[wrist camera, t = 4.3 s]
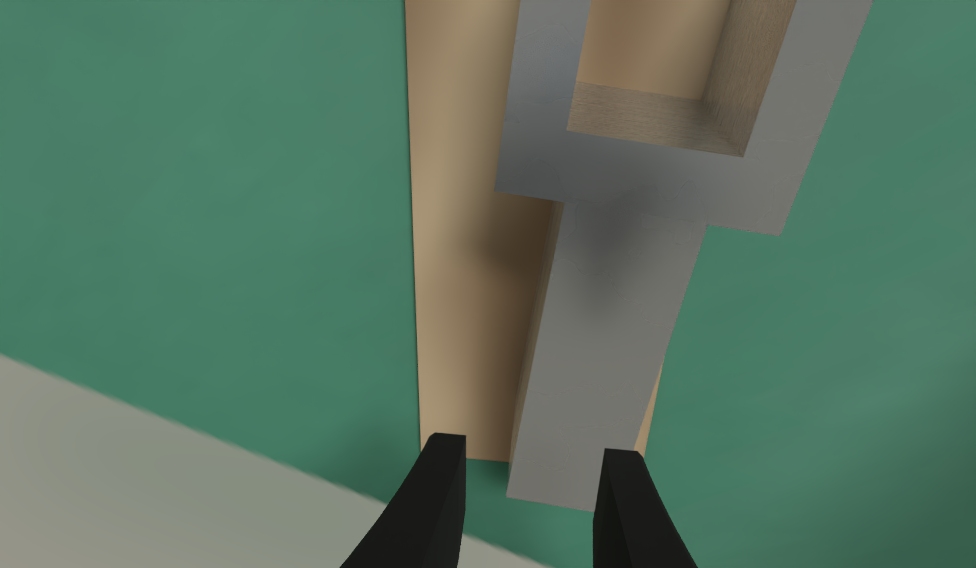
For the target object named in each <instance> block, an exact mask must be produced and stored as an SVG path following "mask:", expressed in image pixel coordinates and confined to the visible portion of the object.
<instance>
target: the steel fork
mask: <svg viewBox="0 0 976 568" xmlns="http://www.w3.org/2000/svg"><path fill="white" fill-rule="evenodd" d="M872 3H873V0H731V1H730V4H729V8H728V11H727V14H726V18H725V21H724V25H723V28H722V31H721V35H720V38H719V42H718V45H717V49H716V52H715V55H714V59H713V62H712V66H711V69H710V72H709V76H708V79H707V83H706V86H705V90H704V93H703V96H702V100H696V99H690V98H683V97H677V96H670V95H663V94H657V93H650V92H644V91H637V90H631V89H624V88H617V87H611V86H604V85H598V84H591V83H584V82H578V81H576V77H577V72H578V67H579V62H580V56H581V51H582V46H583V41H584V35H585V30H586V25H587V20H588V14H589V9H590V4H591V0H521V1H520V8H519V15H518V22H517V30H516V37H515V44H514V51H513V59H512V66H511V73H510V80H509V87H508V95H507V102H506V109H505V116H504V123H503V131H502V138H501V145H500V152H499V159H498V167H497V174H496V181H495V188H494V191H496V192H502V193H509V194H515V195H522V196H528V197H534V198H541V199H547V200H553V203H552V208H551V214H550V219H549V224H548V229H547V235H546V240H545V245H544V250H543V256H542V261H541V266H540V271H539V277H538V282H537V287H536V292H535V298H534V303H533V308H532V313H531V319H530V324H529V329H528V335H527V340H526V345H525V350H524V356H523V361H522V366H521V371H520V377H519V382H518V387H517V392H516V401H515V411H514V421H513V430H512V440H511V450H510V460H509V469H508V479H507V489H506V497H509V498H514V499H520V500H526V501H532V502H538V503H544V504H550V505H556V506H561V507H567V508H573V509H579V510H585V511H591V512H595V506H596V500H597V493H598V487H599V481H600V474H601V468H602V462H603V455H604V449H605V448H611V449H622V450H632V451H633V450H634V447H635V444H636V441H637V438H638V435H639V432H640V429H641V425H642V422H643V419H644V416H645V413H646V410H647V407H648V404H649V401H650V398H651V395H652V392H653V389H654V386H655V383H656V380H657V377H658V374H659V371H660V368H661V365H662V362H663V359H664V356H665V353H666V350H667V347H668V344H669V341H670V338H671V335H672V332H673V329H674V326H675V323H676V319H677V316H678V313H679V310H680V307H681V304H682V301H683V298H684V295H685V292H686V289H687V286H688V283H689V280H690V277H691V274H692V271H693V268H694V265H695V262H696V259H697V256H698V253H699V250H700V247H701V244H702V241H703V238H704V235H705V232H706V229H707V226H708V225H712V226H719V227H725V228H731V229H738V230H744V231H750V232H757V233H763V234H770V235H776V236H780V235H781V232H782V229H783V227H784V224H785V222H786V219H787V217H788V214H789V212H790V209H791V207H792V204H793V202H794V199H795V197H796V194H797V192H798V189H799V187H800V184H801V182H802V179H803V177H804V174H805V172H806V169H807V167H808V164H809V162H810V159H811V157H812V154H813V151H814V149H815V146H816V144H817V141H818V139H819V136H820V134H821V131H822V129H823V126H824V124H825V121H826V119H827V116H828V114H829V111H830V109H831V106H832V104H833V101H834V99H835V96H836V94H837V91H838V89H839V86H840V84H841V81H842V78H843V76H844V73H845V71H846V68H847V66H848V63H849V61H850V58H851V56H852V53H853V51H854V48H855V46H856V43H857V41H858V38H859V36H860V33H861V31H862V28H863V26H864V23H865V21H866V18H867V16H868V13H869V11H870V8H871V6H872Z"/></svg>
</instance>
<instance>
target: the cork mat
mask: <svg viewBox="0 0 976 568" xmlns="http://www.w3.org/2000/svg"><path fill="white" fill-rule="evenodd" d="M520 1H521V0H405V13H406V41H407V69H408V97H409V125H410V153H411V181H412V209H413V237H414V265H415V293H416V322H417V350H418V378H419V406H420V434H421V451H422V450H423V448H424V446H425V444H426V442H427V440H428V438H429V436H430V435H432V434H433V433H435V432H437V433H448V434H459V435H466V458H471V459H481V460H491V461H502V462H509V460H510V450H511V440H512V430H513V421H514V411H515V401H516V392H517V387H518V382H519V377H520V371H521V366H522V361H523V356H524V350H525V345H526V340H527V335H528V329H529V324H530V319H531V313H532V308H533V303H534V298H535V292H536V287H537V282H538V277H539V271H540V266H541V261H542V256H543V250H544V245H545V240H546V235H547V229H548V224H549V219H550V214H551V208H552V203H553V200H547V199H541V198H534V197H528V196H522V195H515V194H509V193H502V192H496V191H494V188H495V181H496V174H497V167H498V159H499V152H500V145H501V138H502V131H503V123H504V116H505V109H506V102H507V95H508V87H509V80H510V73H511V66H512V59H513V51H514V44H515V37H516V30H517V22H518V15H519V8H520ZM730 1H731V0H591V4H590V9H589V14H588V20H587V25H586V30H585V35H584V41H583V46H582V51H581V56H580V62H579V67H578V72H577V77H576V81H578V82H584V83H591V84H598V85H604V86H611V87H617V88H624V89H631V90H637V91H644V92H650V93H657V94H663V95H670V96H677V97H683V98H690V99H696V100H702V96H703V93H704V90H705V86H706V83H707V79H708V76H709V72H710V69H711V66H712V62H713V59H714V55H715V52H716V49H717V45H718V42H719V38H720V35H721V31H722V28H723V25H724V21H725V18H726V14H727V11H728V8H729V4H730ZM663 360H664V359H663ZM662 365H663V362H662ZM662 365H661V368H660V371H659V374H658V377H657V380H656V383H655V386H654V389H653V392H652V395H651V398H650V401H649V404H648V407H647V410H646V413H645V416H644V419H643V422H642V425H641V429H640V432H639V435H638V438H637V441H636V444H635V447H634V450H633V451H638V452H639V453H640V454H641V455H642V456H643V459H644V454H645V449H646V444H647V439H648V434H649V429H650V424H651V419H652V414H653V409H654V405H655V400H656V395H657V390H658V385H659V380H660V375H661V370H662Z"/></svg>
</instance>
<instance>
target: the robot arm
mask: <svg viewBox="0 0 976 568" xmlns="http://www.w3.org/2000/svg"><path fill="white" fill-rule="evenodd" d="M465 499H466V435H459V434H448V433H437V432H435V433H433V434H432V435H430V436H429V438H428V440H427V442H426V444H425V446H424V448H423V450H422V451H421V453H420V455H419V457H418V459H417V460H416V462H415V464H414V466H413V467H412V469H411V471H410V472H409V474H408V475H407V477H406V478H405V480H404V482H403V483H402V485H401V486H400V488H399V489H398V491H397V492H396V494H395V495H394V497H393V498H392V500H391V501H390V502H389V504H388V505H387V507H386V508H385V510H384V511H383V513H382V514H381V516H380V517H379V518H378V520H377V521H376V522H375V524H374V525H373V526H372V528H371V529H370V530H369V531H368V533H367V534H366V535H365V537H364V538H363V539H362V540H361V542H360V543H359V544H358V546H357V547H356V548H355V549H354V551H353V552H352V553H351V555H350V556H349V557H348V558H347V559H346V561H345V562H344V563H343V564H342V565H341V567H340V568H457V565H458V559H459V552H460V545H461V538H462V531H463V523H464V516H465ZM593 568H698V567H697V566H696V564H695V562H694V560H693V559H692V557H691V555H690V553H689V552H688V550H687V548H686V546H685V544H684V543H683V541H682V539H681V537H680V535H679V533H678V532H677V530H676V528H675V526H674V524H673V522H672V520H671V518H670V517H669V515H668V513H667V511H666V509H665V506H664V504H663V502H662V500H661V498H660V496H659V494H658V492H657V490H656V488H655V485H654V483H653V481H652V479H651V476H650V474H649V472H648V469H647V467H646V464H645V462H644V459H643V456H642V455H641V454H640V453H639V452H638V451H632V450H622V449H611V448H605V449H604V455H603V462H602V468H601V474H600V481H599V487H598V493H597V500H596V506H595V512H594V518H593Z"/></svg>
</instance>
